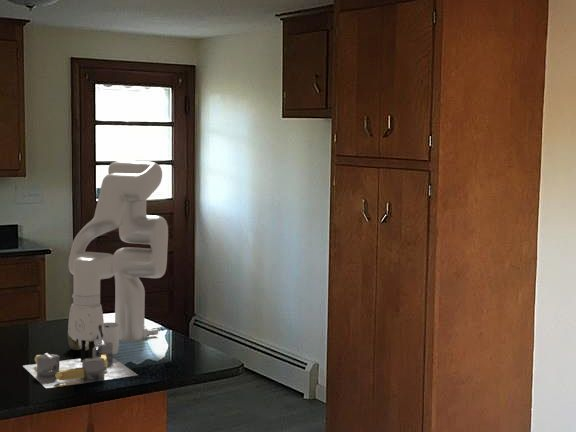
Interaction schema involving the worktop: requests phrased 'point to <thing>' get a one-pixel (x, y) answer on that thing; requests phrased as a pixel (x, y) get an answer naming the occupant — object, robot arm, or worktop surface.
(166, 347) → the worktop surface
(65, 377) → the knob left
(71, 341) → the cup
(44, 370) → the knob
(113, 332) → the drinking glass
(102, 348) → the knob
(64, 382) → the plate
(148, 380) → the worktop surface
